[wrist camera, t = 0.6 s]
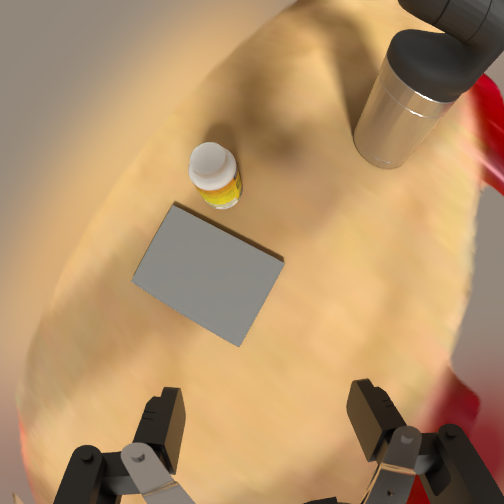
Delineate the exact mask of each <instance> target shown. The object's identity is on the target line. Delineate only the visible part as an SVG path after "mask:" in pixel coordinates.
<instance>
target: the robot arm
mask: <svg viewBox="0 0 504 504" xmlns="http://www.w3.org/2000/svg"><path fill="white" fill-rule="evenodd" d="M398 2H399V4H400V6H401V7H402V8H403V9H404V10H406V11H407V12H409V13H410V14H412V15H413V16H415V17H417V18H418V19H420V20H422V21H424V22H426V23H428V24H431V25H432V26H434V27H436V28H438V29H440V30H441V31H443V32H445V33H434V32H428V31H422V30H415V29H408V30H403V31H400V32H398V33H397V34H396V35H395V36H394V37H393V38H392V40H391V43H390V45H389V48H388V51H387V53H386V55H385V58H384V61H383V63H382V66H381V68H380V71H379V73H378V76H377V78H376V81H375V83H374V86H373V88H372V90H371V93H370V95H369V97H368V100H367V102H366V105H365V107H364V109H363V112H362V114H361V116H360V118H359V121H358V123H357V125H356V128H355V130H354V135H353V136H354V143H355V146H356V148H357V150H358V152H359V153H360V154H361V155H362V157H363V158H364V159H366V160H367V161H368V162H369V163H371V164H372V165H375V166H377V167H379V168H383V169H393V168H397V167H399V166H401V165H402V164H403V163H404V162H405V161H406V160H407V159H408V157H409V156H410V155H411V154H412V153H413V152H414V151H415V150H416V148H417V147H418V146H419V145H420V144H421V143H422V141H423V140H424V139H425V138H426V137H427V136H428V134H429V133H430V132H431V131H432V130H433V128H434V127H435V126H436V125H437V124H438V122H439V121H440V120H441V119H442V117H443V116H444V115H445V114H446V113H447V111H448V110H449V109H450V107H451V106H452V105H453V104H454V102H455V101H456V100H457V99H458V98H459V96H460V95H461V94H462V93H464V92H466V91H467V90H469V89H470V88H471V87H472V86H473V85H474V83H475V82H476V81H477V80H478V79H479V78H480V76H481V75H482V74H483V73H484V72H485V71H486V70H487V68H488V67H489V66H490V65H491V64H492V63H493V62H494V61H495V60H496V59H497V58H498V56H499V55H500V54H501V53H502V52H503V51H504V0H398ZM346 407H347V414H348V417H349V419H350V421H351V424H352V426H353V428H354V431H355V433H356V435H357V438H358V440H359V442H360V445H361V447H362V449H363V452H364V454H365V457H366V459H367V461H368V462H372V461H377V464H378V465H377V467H376V469H375V471H374V474H373V476H372V478H371V480H370V482H369V484H368V486H367V488H366V491H365V493H364V495H363V496H362V498H361V500H360V502H359V503H358V504H406V502H407V499H408V496H409V493H410V490H411V487H412V484H413V481H414V478H415V474H418V475H419V477H420V480H421V482H422V484H423V486H424V489H425V491H426V493H427V496H428V498H429V500H430V503H431V504H504V496H503V494H502V492H501V491H500V489H499V487H498V485H497V484H496V482H495V480H494V479H493V478H492V475H491V474H490V472H489V470H488V469H487V467H486V466H485V464H484V462H483V461H482V459H481V458H480V456H479V455H478V453H477V451H476V450H475V448H474V447H473V445H472V444H471V442H470V441H469V439H468V437H467V436H466V434H465V433H464V432H463V430H462V429H461V428H460V427H459V426H457V425H455V424H445V425H443V426H441V427H440V429H439V430H438V432H436V433H421V432H420V431H419V430H418V429H417V428H415V427H412V426H407V425H406V423H405V421H404V420H403V418H402V417H401V415H400V413H399V412H398V410H397V409H396V407H395V406H394V404H393V402H392V401H391V400H390V397H389V396H388V394H387V393H386V392H385V391H384V390H383V389H381V388H380V387H374V386H373V385H372V383H371V381H370V380H369V379H368V378H367V379H360V380H354V381H353V382H352V384H351V388H350V392H349V396H348V400H347V406H346ZM141 418H142V419H141V420H140V423H139V426H138V428H137V431H136V434H135V437H134V440H133V442H132V443H131V444H129V445H127V446H125V447H124V448H123V450H122V451H120V452H111V453H101V452H100V450H99V449H98V448H96V447H94V446H91V445H83V446H80V447H78V448H77V449H75V451H74V452H73V454H72V456H71V459H70V461H69V463H68V466H67V468H66V471H65V473H64V476H63V479H62V481H61V484H60V486H59V489H58V492H57V494H56V497H55V500H54V503H53V504H120V502H121V497H122V495H127V494H142V496H143V498H144V499H145V501H146V503H147V504H195V502H194V501H193V500H192V499H191V498H190V496H189V495H188V494H187V493H186V492H185V490H184V489H183V488H182V487H181V485H180V484H179V483H178V482H175V481H174V479H173V478H172V477H171V475H170V474H173V475H176V469H177V464H178V458H179V453H180V447H181V442H182V436H183V431H184V426H185V419H186V414H185V407H184V402H183V397H182V392H181V389H180V388H174V387H164V388H163V391H162V394H161V397H155V396H153V397H152V398H151V399H150V400H149V401H148V402H147V404H146V406H145V409H144V413H143V414H142V417H141ZM304 504H349V503H342V502H337V499H336V497H331V498H326V499H320V500H314V501H310V502H307V503H304Z"/></svg>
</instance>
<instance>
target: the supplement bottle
mask: <svg viewBox="0 0 504 504" xmlns="http://www.w3.org/2000/svg"><path fill="white" fill-rule="evenodd" d="M188 172H189V177H190V179H191V181H192V182H193V184H194V185H195V187H196V188H197V190H198V191H199V193H200V194H201V196H202V197H203V199H204V200H205V201H206V203H207V204H208V205H210V206H211V207H213V208H216V209H226V208H229V207H232V206H233V205H235V204H236V203H237V202H238V201H239V199H240V197H241V195H242V183H241V179H240V175H239V172H238V168H237V164H236V161H235V158H234V156H233V155H232V153H231V152H230V151H228V150H227V149H225V148H223V147H222V146H221V145H219V144H217V143H214V142H206V143H203V144H200V145H199V146H197V147H196V148H195V149H194V150H193V152H192V153H191V156H190V164H189V169H188Z"/></svg>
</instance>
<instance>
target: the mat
mask: <svg viewBox="0 0 504 504" xmlns="http://www.w3.org/2000/svg"><path fill="white" fill-rule="evenodd" d="M284 264H285V263H283V262H282V261H280V260H278V259H276V258H274V257H272V256H270V255H268V254H266V253H264V252H262V251H261V250H259V249H257V248H255V247H253V246H251V245H249V244H247V243H245V242H243V241H241V240H240V239H238V238H236V237H234V236H232V235H230V234H228V233H226V232H224V231H222V230H220V229H218V228H217V227H215V226H213V225H211V224H209V223H207V222H205V221H203V220H201V219H199V218H197V217H195V216H193V215H192V214H190V213H188V212H186V211H184V210H182V209H180V208H178V207H176V206H174V205H173V206H172V207H171V209H170V211H169V212H168V214H167V216H166V218H165V219H164V221H163V223H162V225H161V226H160V228H159V230H158V232H157V234H156V235H155V237H154V239H153V241H152V243H151V244H150V246H149V248H148V250H147V252H146V254H145V256H144V257H143V259H142V261H141V263H140V265H139V267H138V269H137V271H136V273H135V275H134V277H133V279H132V281H131V282H133V283H134V284H136V285H137V286H139V287H140V288H142V289H143V290H145V291H146V292H148V293H149V294H151V295H152V296H154V297H155V298H157V299H158V300H160V301H161V302H163V303H165V304H166V305H168V306H169V307H171V308H172V309H174V310H176V311H177V312H179V313H181V314H182V315H184V316H185V317H187V318H189V319H190V320H192V321H194V322H195V323H197V324H199V325H200V326H202V327H204V328H205V329H207V330H209V331H211V332H212V333H214V334H216V335H218V336H219V337H221V338H223V339H225V340H226V341H228V342H230V343H232V344H234V345H235V346H237V347H240V345H241V343H242V342H243V340H244V338H245V336H246V334H247V333H248V331H249V329H250V327H251V325H252V324H253V322H254V320H255V318H256V316H257V315H258V313H259V311H260V309H261V307H262V305H263V304H264V302H265V300H266V298H267V296H268V294H269V293H270V291H271V289H272V287H273V285H274V283H275V281H276V279H277V278H278V276H279V274H280V272H281V270H282V268H283V266H284Z"/></svg>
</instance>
